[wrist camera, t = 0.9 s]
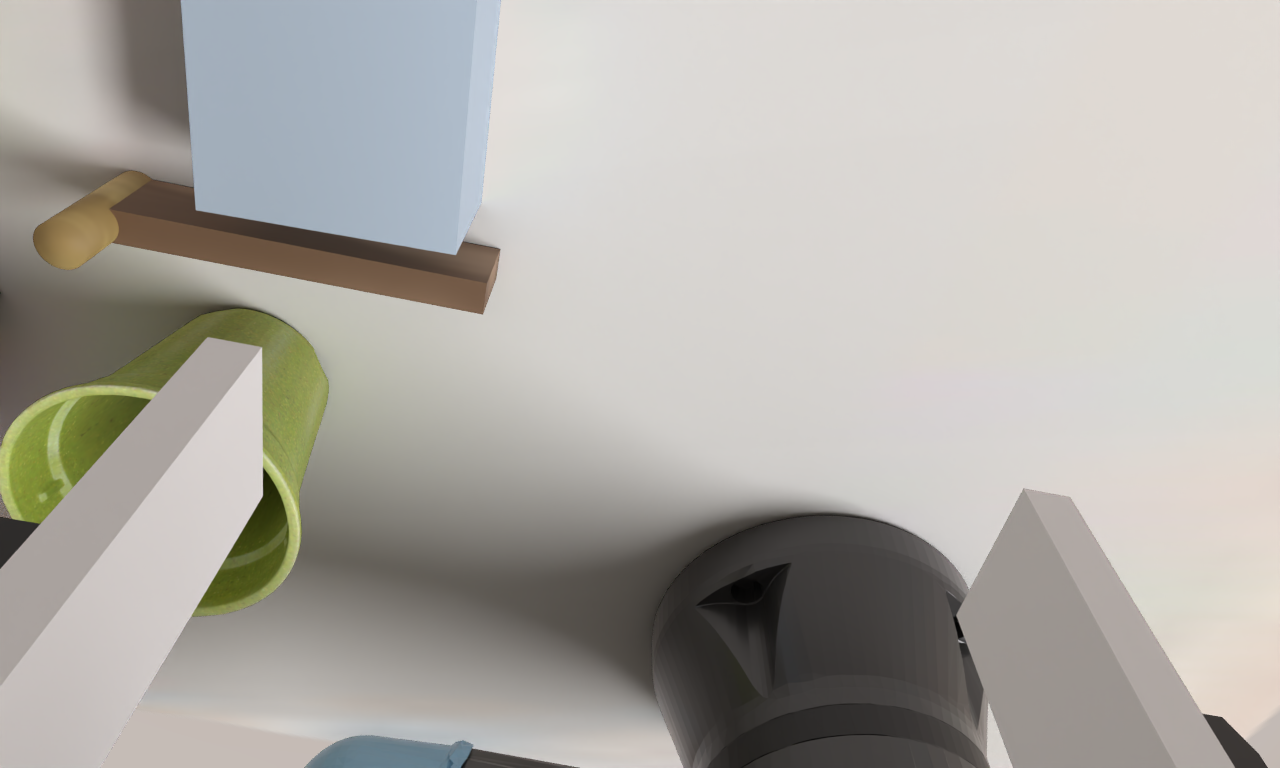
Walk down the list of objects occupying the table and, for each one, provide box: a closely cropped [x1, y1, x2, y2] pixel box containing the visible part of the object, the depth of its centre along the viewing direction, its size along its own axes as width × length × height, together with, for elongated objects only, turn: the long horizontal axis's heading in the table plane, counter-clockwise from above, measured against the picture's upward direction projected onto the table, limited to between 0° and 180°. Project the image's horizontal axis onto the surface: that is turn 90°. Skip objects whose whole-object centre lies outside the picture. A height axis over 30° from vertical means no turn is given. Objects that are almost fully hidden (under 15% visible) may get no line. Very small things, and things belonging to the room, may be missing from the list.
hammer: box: [33, 171, 500, 314], centre depth 28 cm, size 14×14×5 cm
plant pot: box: [0, 309, 329, 617], centre depth 33 cm, size 9×9×9 cm
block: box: [181, 0, 501, 255], centre depth 29 cm, size 8×8×5 cm
